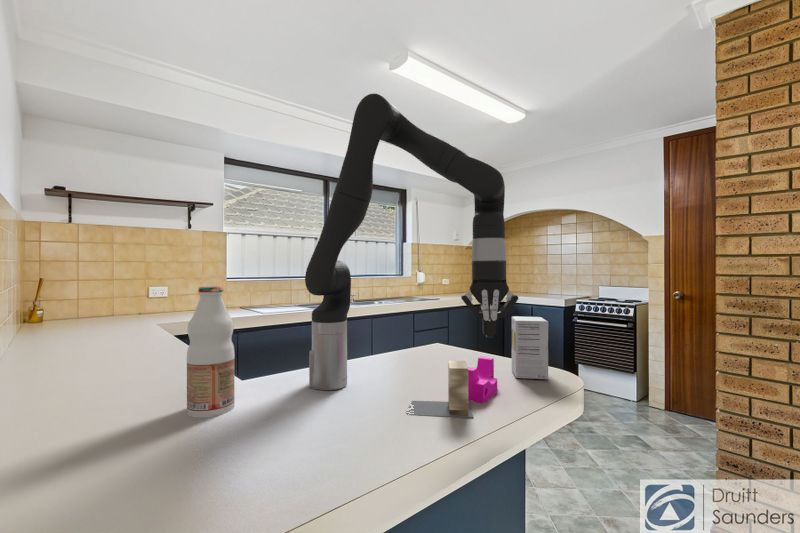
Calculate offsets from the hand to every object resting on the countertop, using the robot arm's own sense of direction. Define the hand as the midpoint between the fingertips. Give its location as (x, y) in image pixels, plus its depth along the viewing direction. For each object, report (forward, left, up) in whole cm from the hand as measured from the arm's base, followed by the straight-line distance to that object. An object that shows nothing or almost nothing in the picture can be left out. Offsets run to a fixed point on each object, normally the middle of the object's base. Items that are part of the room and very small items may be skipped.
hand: (489, 336), depth 87 cm
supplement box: (+16, +31, -17) cm, 39 cm away
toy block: (0, +13, -17) cm, 22 cm away
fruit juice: (-61, -7, -17) cm, 64 cm away
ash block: (-7, 0, -16) cm, 18 cm away
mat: (-12, 0, -17) cm, 20 cm away
